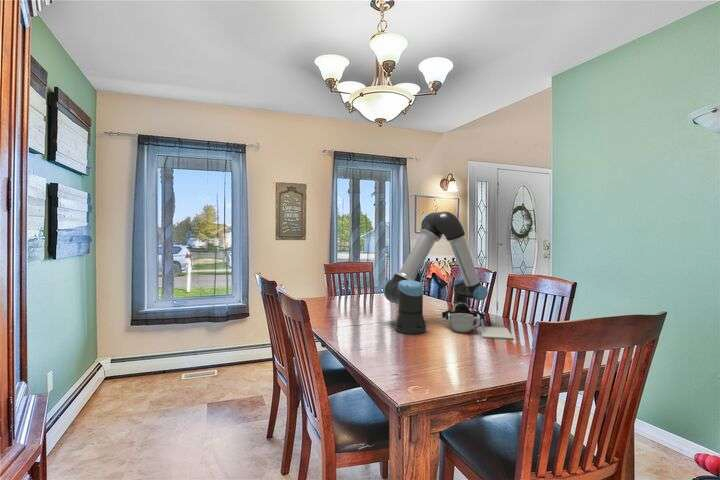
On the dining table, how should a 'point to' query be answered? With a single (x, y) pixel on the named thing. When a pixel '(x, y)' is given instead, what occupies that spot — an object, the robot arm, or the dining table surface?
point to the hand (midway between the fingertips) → (464, 319)
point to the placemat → (495, 332)
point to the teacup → (463, 322)
